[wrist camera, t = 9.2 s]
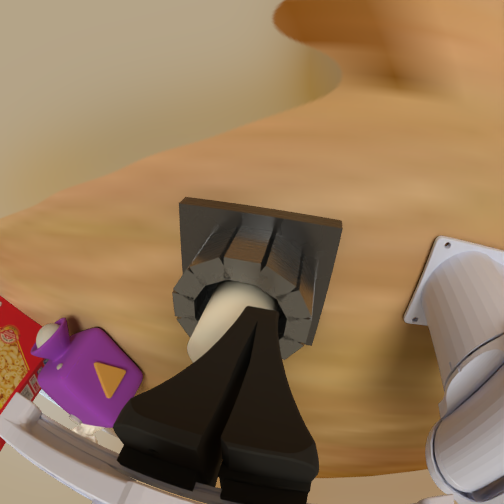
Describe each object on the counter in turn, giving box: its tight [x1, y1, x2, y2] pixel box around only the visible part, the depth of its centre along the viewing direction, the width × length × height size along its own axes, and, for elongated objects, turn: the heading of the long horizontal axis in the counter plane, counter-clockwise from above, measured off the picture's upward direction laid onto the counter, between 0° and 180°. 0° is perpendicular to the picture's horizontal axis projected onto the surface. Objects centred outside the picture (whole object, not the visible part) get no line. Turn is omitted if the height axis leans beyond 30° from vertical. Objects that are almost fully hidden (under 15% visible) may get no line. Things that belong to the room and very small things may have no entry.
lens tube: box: [172, 197, 342, 360], centre depth 22 cm, size 11×11×5 cm
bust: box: [72, 423, 104, 444], centre depth 42 cm, size 12×8×11 cm
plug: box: [187, 279, 278, 363], centre depth 19 cm, size 4×4×6 cm
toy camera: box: [31, 318, 143, 428], centre depth 31 cm, size 11×14×10 cm
